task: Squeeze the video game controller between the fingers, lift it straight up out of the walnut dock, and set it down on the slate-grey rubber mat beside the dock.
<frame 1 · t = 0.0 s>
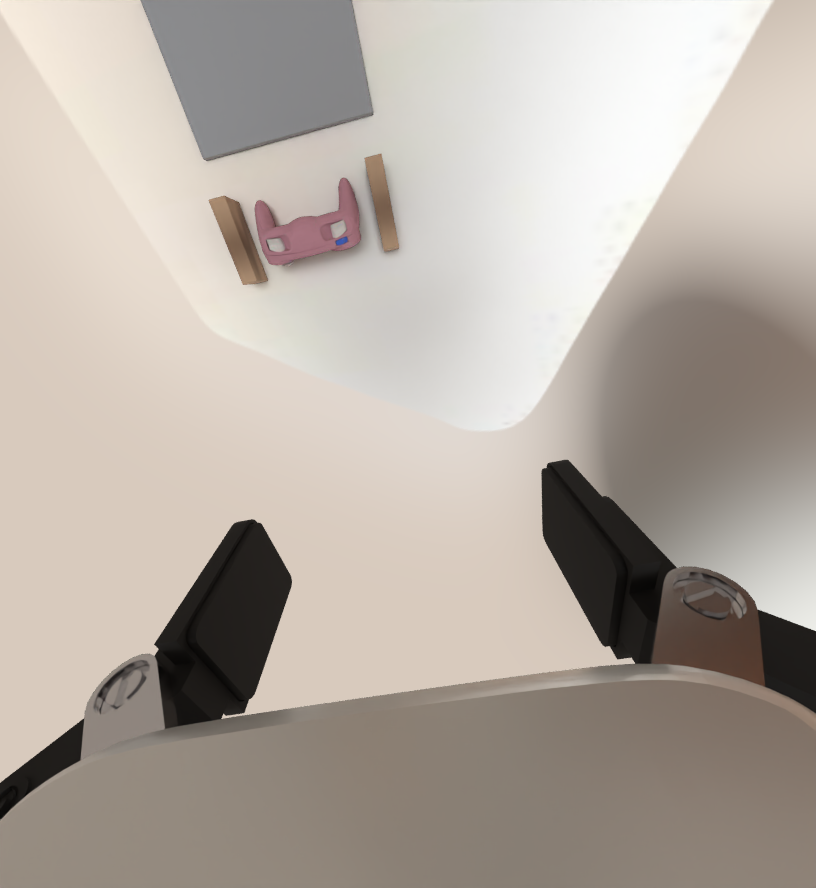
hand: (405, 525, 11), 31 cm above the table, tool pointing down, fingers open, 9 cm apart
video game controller: (314, 227, 33), on the table
mat: (265, 60, 27), on the table
dock: (314, 228, 33), on the table
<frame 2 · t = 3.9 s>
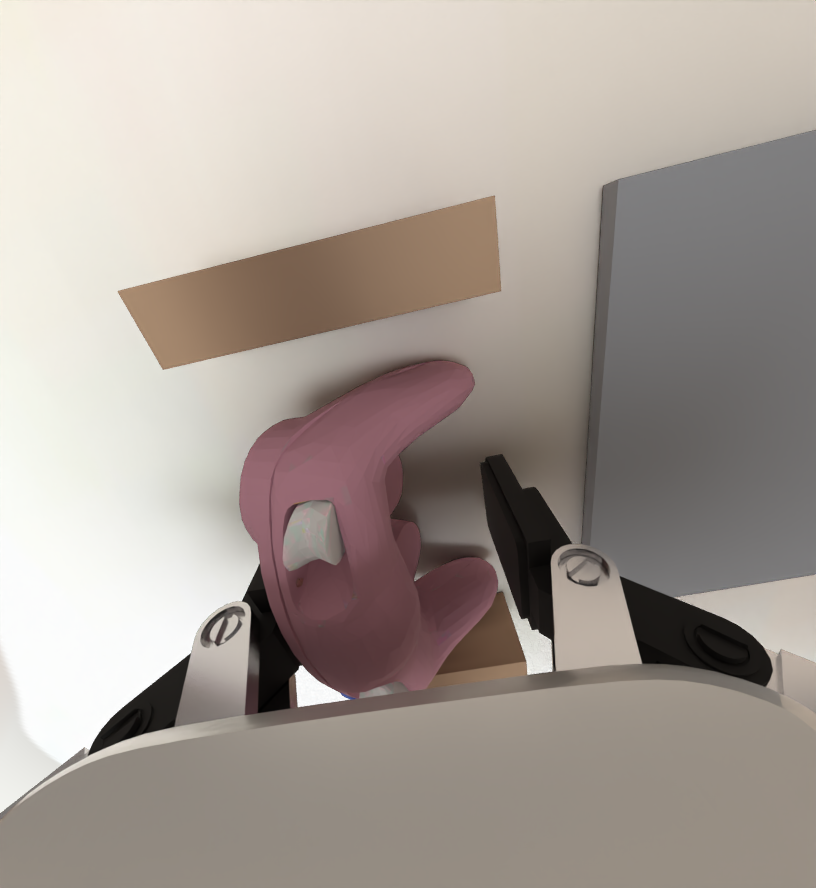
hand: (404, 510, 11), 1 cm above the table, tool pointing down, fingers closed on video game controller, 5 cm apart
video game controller: (401, 489, 12), on the table, touching gripper
mat: (731, 431, 11), on the table
dock: (397, 496, 12), on the table
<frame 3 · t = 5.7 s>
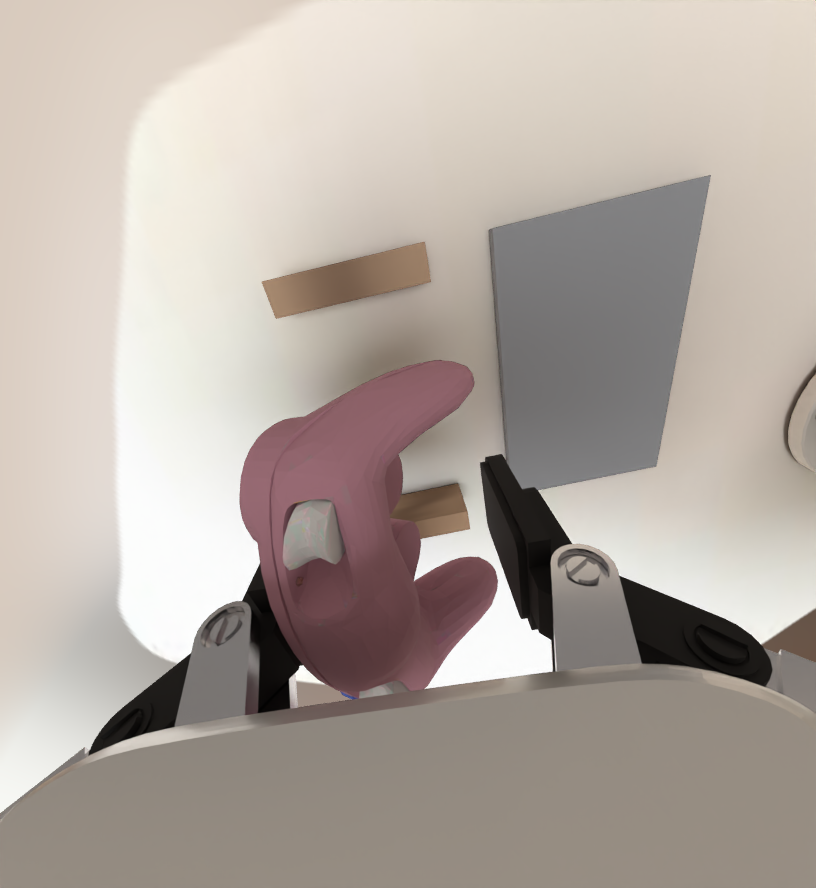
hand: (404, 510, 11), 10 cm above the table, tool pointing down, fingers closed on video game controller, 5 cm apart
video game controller: (401, 489, 12), point 8 cm above the table, touching gripper
mat: (584, 367, 19), on the table
dock: (387, 410, 20), on the table
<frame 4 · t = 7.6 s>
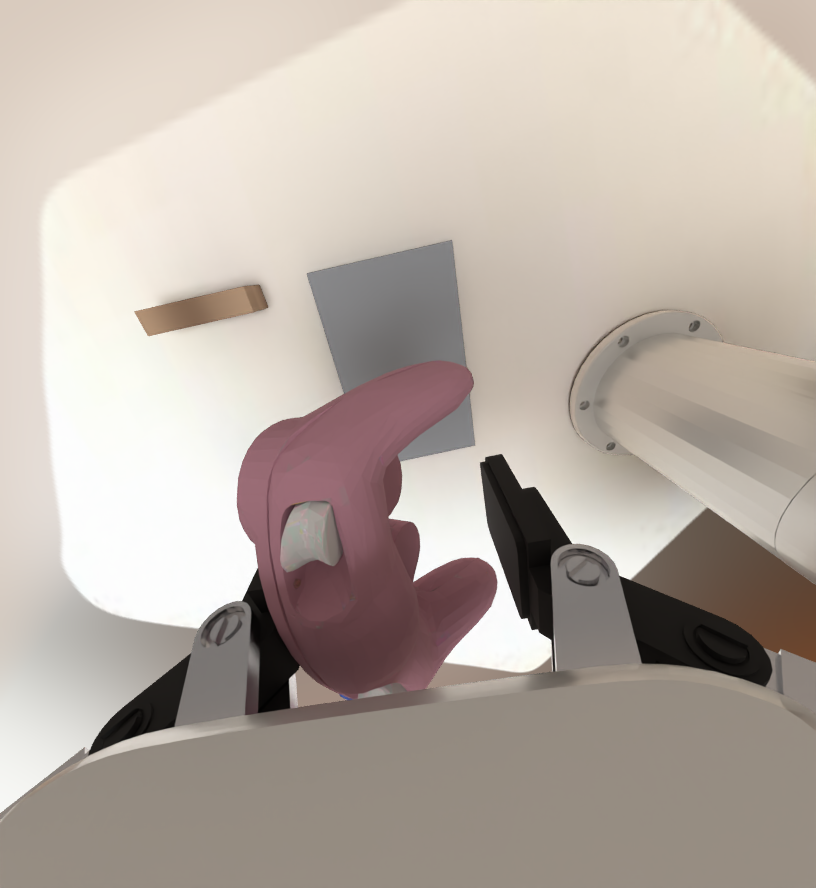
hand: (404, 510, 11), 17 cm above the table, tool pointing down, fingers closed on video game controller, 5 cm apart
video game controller: (401, 490, 12), point 16 cm above the table, touching gripper
mat: (402, 369, 26), on the table
dock: (258, 401, 26), on the table
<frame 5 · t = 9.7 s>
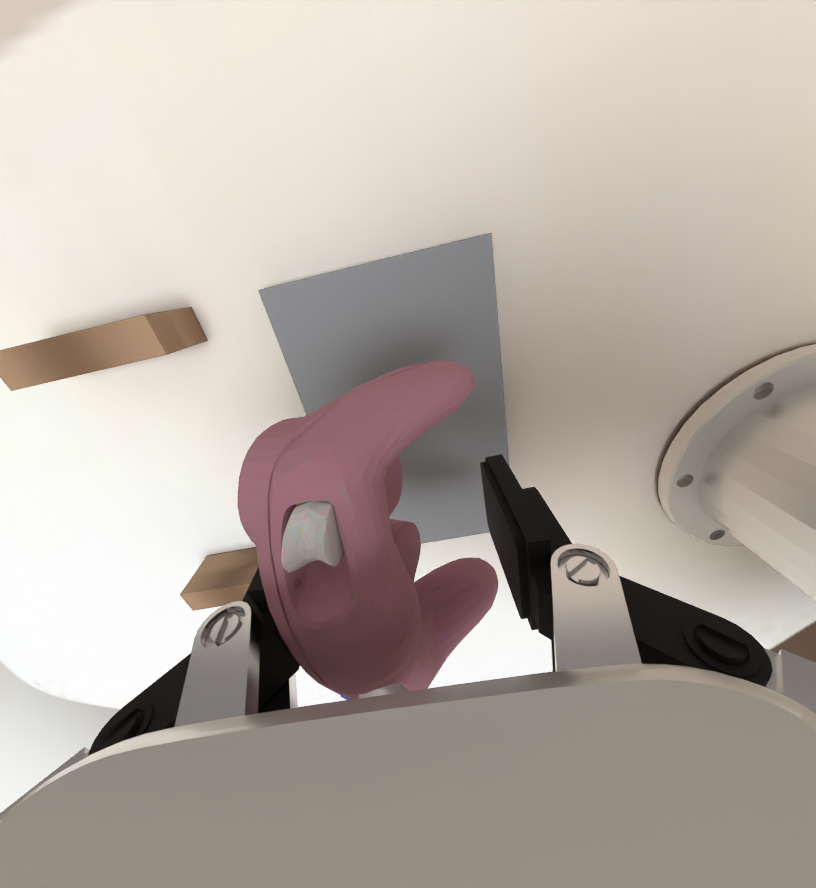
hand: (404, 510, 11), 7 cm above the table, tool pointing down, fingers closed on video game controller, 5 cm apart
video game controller: (401, 490, 12), point 6 cm above the table, touching gripper
mat: (410, 427, 18), on the table
dock: (207, 467, 19), on the table
when the fingers open (3 cm above the table, at t = 11.4 s): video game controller drops 2 cm, resting on mat.
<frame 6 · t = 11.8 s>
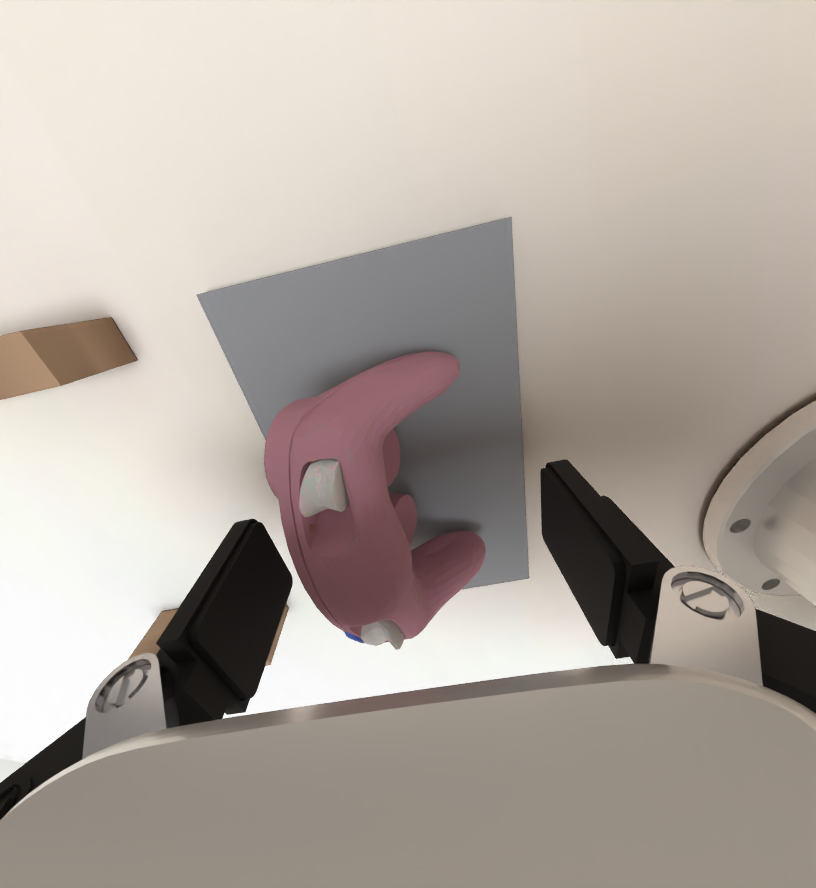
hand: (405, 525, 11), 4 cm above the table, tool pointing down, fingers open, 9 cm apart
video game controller: (400, 467, 14), resting on mat
mat: (403, 464, 14), on the table
dock: (152, 513, 15), on the table
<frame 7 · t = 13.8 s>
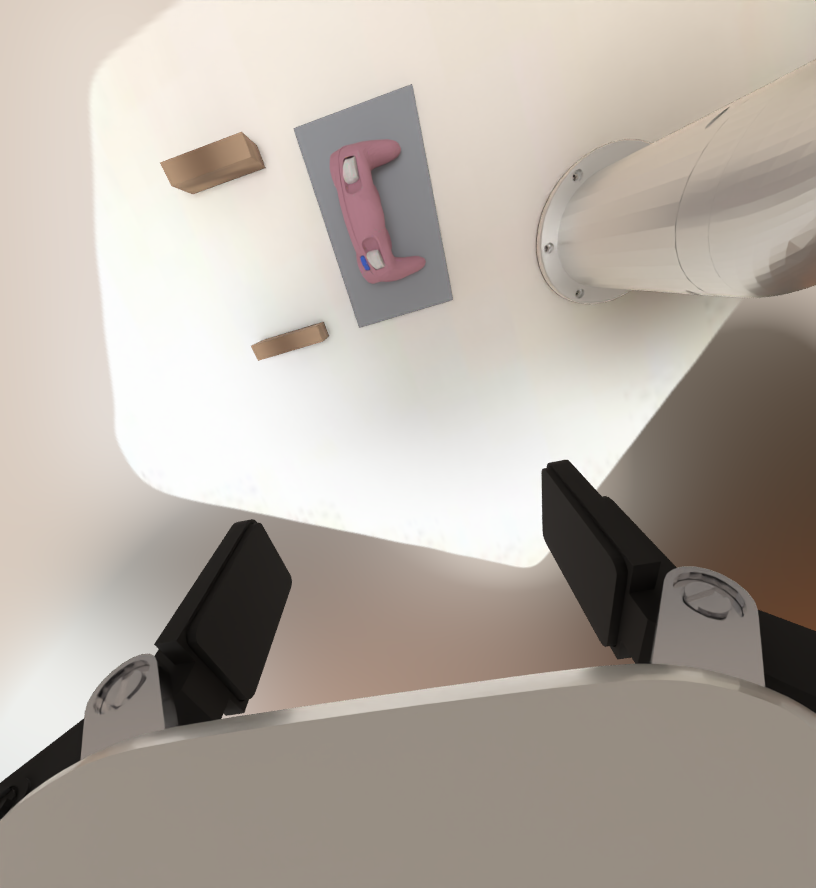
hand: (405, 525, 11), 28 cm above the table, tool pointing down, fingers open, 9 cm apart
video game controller: (382, 221, 29), resting on mat
mat: (382, 224, 30), on the table
dock: (263, 263, 31), on the table
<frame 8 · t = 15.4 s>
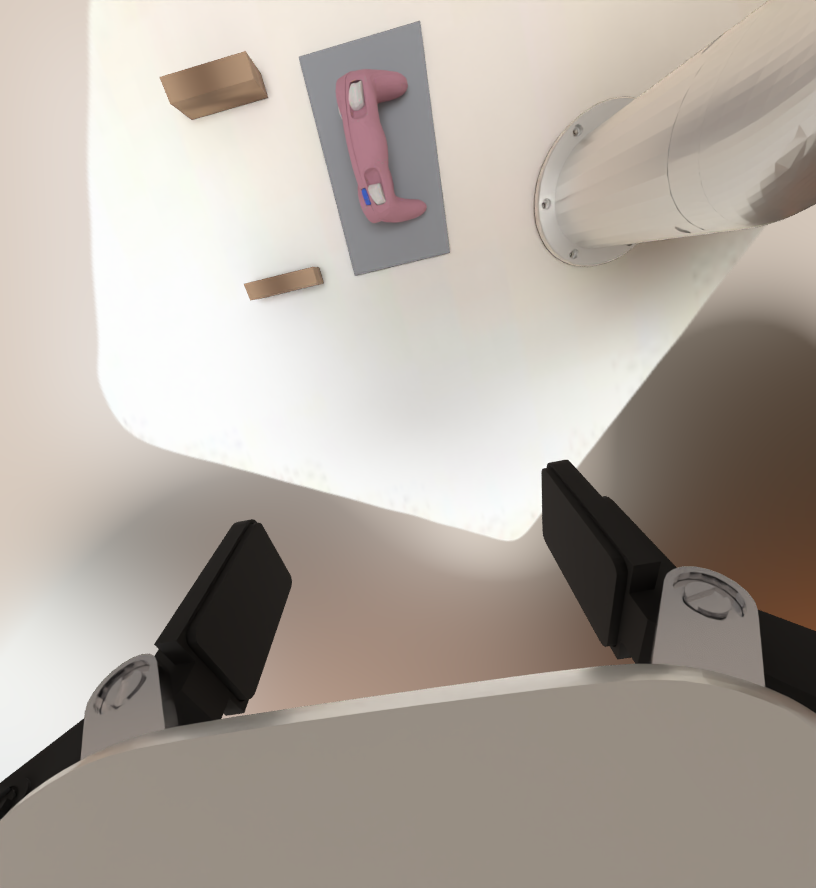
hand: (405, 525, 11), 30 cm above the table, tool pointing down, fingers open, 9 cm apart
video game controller: (385, 162, 29), resting on mat
mat: (383, 167, 30), on the table
dock: (261, 200, 31), on the table
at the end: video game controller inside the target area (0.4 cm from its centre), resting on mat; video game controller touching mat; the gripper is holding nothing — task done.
